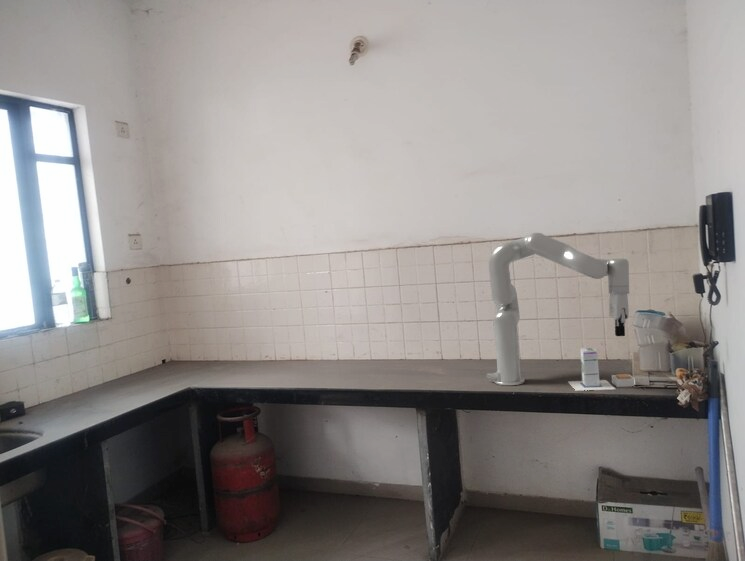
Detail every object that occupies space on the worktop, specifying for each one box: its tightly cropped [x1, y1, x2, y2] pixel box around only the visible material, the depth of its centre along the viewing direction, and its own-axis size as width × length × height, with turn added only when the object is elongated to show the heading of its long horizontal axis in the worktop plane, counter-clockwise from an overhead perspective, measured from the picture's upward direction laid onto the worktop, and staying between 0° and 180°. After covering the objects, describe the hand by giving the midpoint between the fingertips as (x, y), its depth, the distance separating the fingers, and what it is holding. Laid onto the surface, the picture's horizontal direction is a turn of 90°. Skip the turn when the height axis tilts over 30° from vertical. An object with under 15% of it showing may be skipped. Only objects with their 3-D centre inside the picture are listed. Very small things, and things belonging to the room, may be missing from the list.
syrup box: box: [579, 347, 600, 387], centre depth 224 cm, size 6×6×14 cm
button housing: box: [611, 374, 635, 388], centre depth 223 cm, size 7×7×3 cm
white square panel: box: [567, 379, 617, 392], centre depth 224 cm, size 15×14×1 cm
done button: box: [615, 373, 632, 379], centre depth 223 cm, size 4×4×2 cm
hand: (620, 335), depth 222 cm, fingers closed
